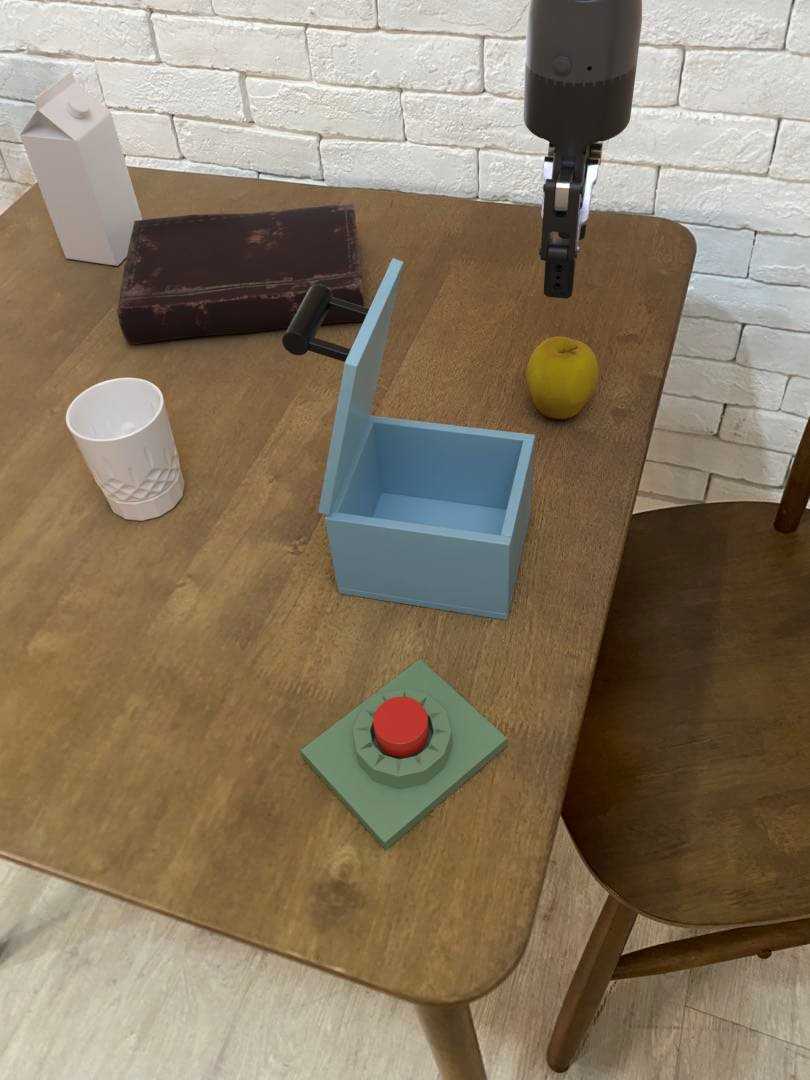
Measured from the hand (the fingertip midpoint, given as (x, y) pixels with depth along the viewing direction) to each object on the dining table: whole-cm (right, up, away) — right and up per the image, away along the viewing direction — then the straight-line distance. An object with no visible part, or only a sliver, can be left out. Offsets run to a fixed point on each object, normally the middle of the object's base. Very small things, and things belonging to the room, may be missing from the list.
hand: (565, 265), depth 76 cm
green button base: (-13, -37, -11) cm, 41 cm away
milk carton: (-49, +13, +37) cm, 62 cm away
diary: (-30, +6, +29) cm, 42 cm away
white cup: (-36, -18, +8) cm, 41 cm away
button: (-13, -35, -13) cm, 40 cm away
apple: (+2, -10, +12) cm, 16 cm away
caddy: (-10, -23, +1) cm, 25 cm away
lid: (-16, -12, -10) cm, 22 cm away
